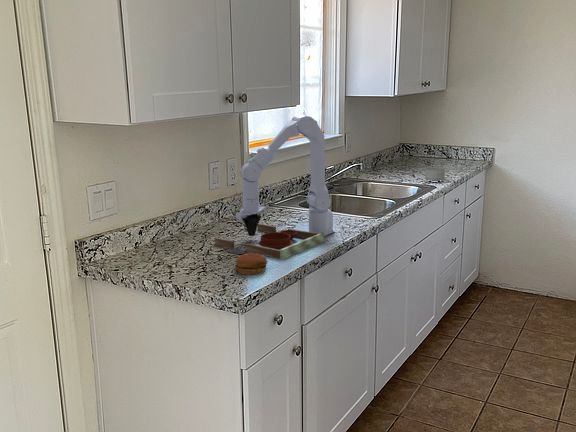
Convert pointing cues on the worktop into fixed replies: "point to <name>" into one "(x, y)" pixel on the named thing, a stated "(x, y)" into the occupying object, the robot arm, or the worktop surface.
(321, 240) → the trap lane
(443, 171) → the teacup
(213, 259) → the worktop surface
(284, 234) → the pottery
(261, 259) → the burger
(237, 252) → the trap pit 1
